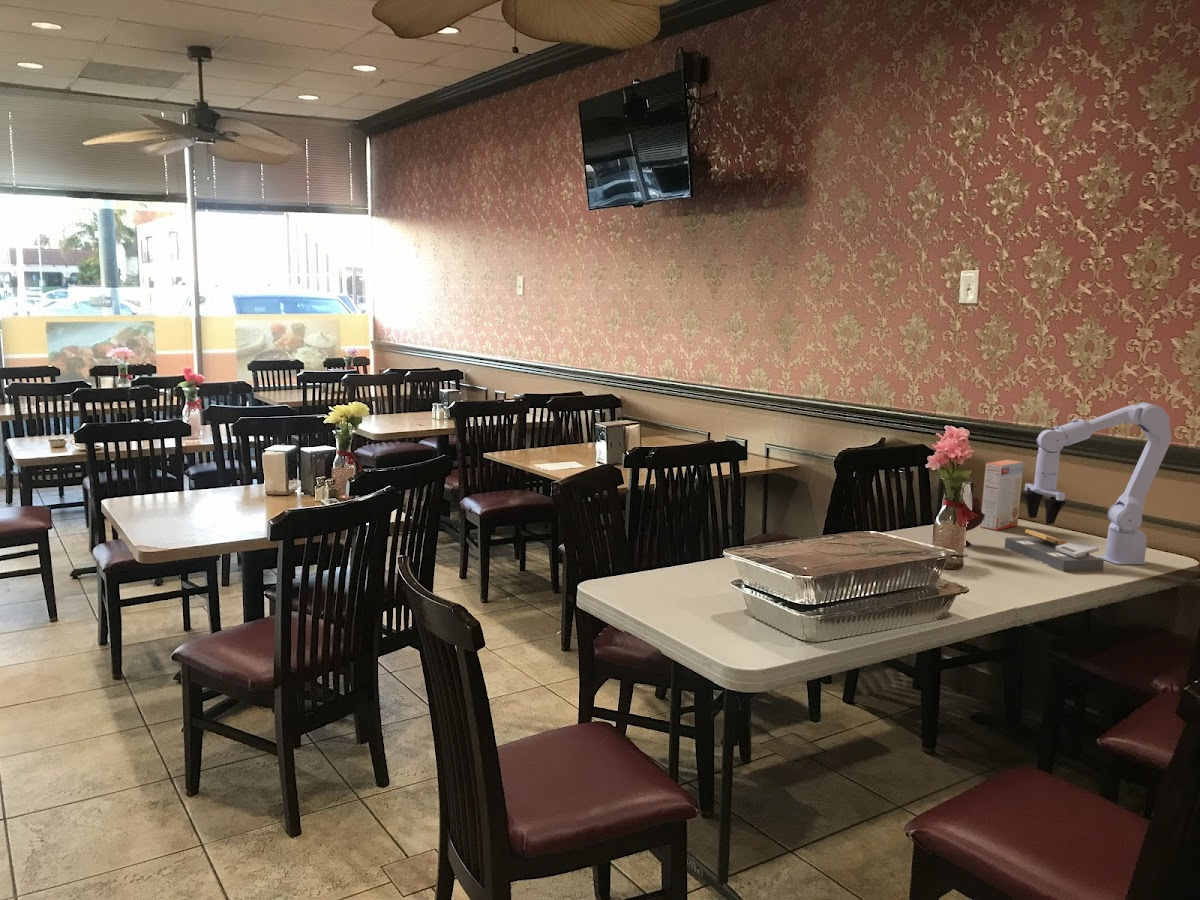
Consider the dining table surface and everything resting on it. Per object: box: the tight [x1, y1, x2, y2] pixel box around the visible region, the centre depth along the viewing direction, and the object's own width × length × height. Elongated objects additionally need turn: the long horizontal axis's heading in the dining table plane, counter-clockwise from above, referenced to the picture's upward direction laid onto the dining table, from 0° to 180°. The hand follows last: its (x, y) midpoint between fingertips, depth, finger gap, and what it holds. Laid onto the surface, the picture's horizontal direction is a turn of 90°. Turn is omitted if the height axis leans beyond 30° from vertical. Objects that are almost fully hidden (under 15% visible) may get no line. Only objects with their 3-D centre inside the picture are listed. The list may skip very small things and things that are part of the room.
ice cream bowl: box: [966, 493, 985, 547], centre depth 275 cm, size 11×11×15 cm
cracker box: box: [979, 459, 1024, 531], centre depth 301 cm, size 14×6×21 cm, turn 130°
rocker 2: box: [1055, 540, 1100, 558], centre depth 256 cm, size 7×8×2 cm
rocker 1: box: [1024, 528, 1069, 545], centre depth 268 cm, size 7×9×2 cm
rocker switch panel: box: [1003, 536, 1105, 572], centre depth 263 cm, size 16×25×3 cm, turn 12°
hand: (1041, 520), depth 267 cm, fingers open, 7 cm apart
